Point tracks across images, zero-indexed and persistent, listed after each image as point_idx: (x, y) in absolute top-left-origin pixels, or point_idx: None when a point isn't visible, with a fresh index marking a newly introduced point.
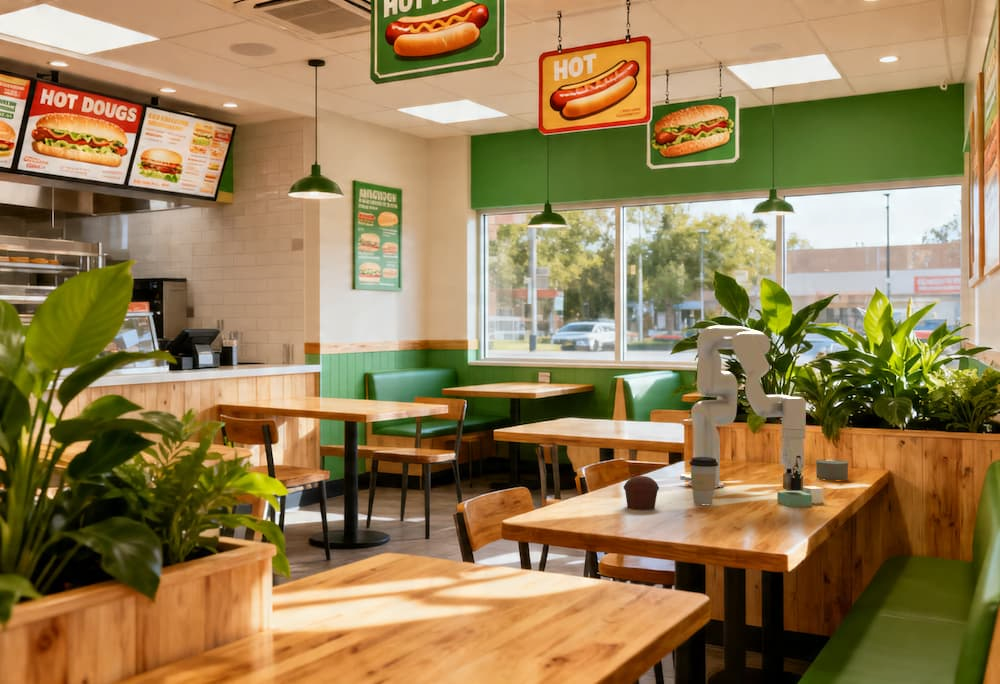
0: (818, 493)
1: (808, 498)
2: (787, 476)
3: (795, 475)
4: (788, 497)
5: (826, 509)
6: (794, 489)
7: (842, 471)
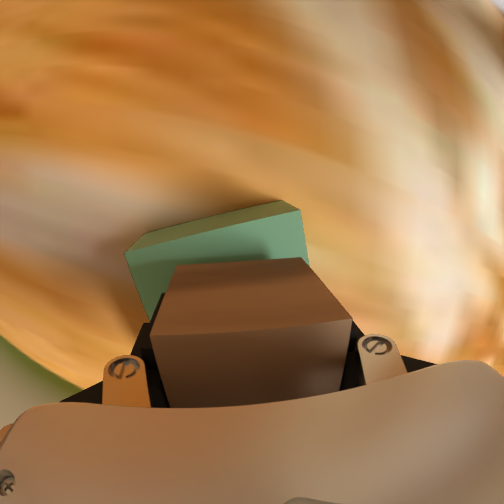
0: None
1: None
2: (178, 326)
3: (90, 390)
4: (142, 244)
5: None
6: None
7: None
